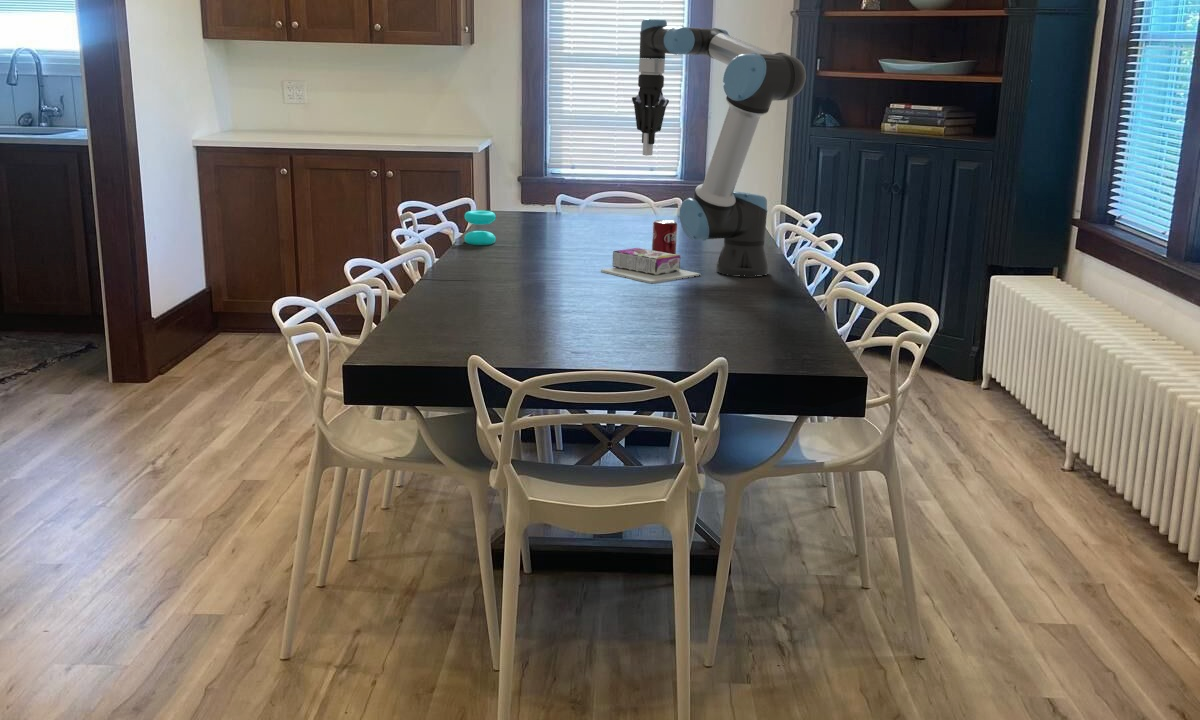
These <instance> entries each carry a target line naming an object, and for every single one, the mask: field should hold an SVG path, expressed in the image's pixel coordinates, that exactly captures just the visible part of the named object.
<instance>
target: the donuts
mask: <svg viewBox="0 0 1200 720" xmlns="http://www.w3.org/2000/svg"><path fill="white" fill-rule="evenodd" d="M496 217H497V216H496V213H495V212H493V211H489V210H468V211H466V212H465V213H464V220H465V221H466V222H467V223H469V224H472V225H489V224H491V223H493V222H494V221H495V220H496ZM496 241H497V239H496V236H495V234H493V233H492V232H490V231H488V230H487V231H484V230H473V231H469V232H468V233H466V234H465V235H464V242H465V243H466V244H469V245H473V246H474V245H475V246H488V245H493V244H494V243H495V242H496Z"/></svg>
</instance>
